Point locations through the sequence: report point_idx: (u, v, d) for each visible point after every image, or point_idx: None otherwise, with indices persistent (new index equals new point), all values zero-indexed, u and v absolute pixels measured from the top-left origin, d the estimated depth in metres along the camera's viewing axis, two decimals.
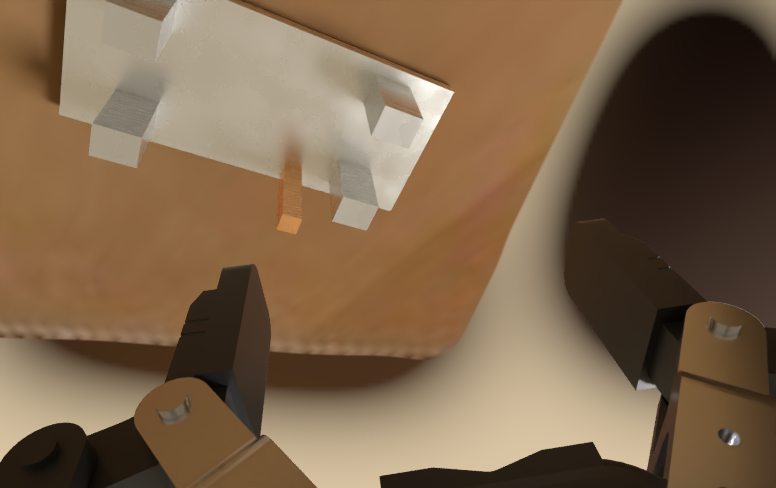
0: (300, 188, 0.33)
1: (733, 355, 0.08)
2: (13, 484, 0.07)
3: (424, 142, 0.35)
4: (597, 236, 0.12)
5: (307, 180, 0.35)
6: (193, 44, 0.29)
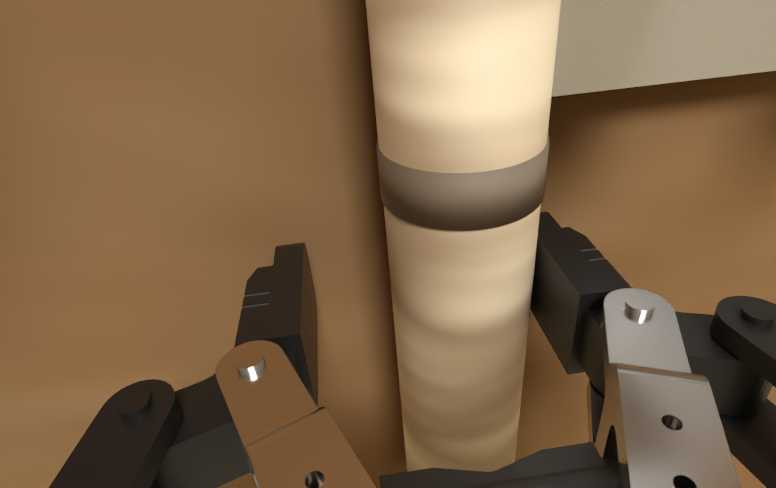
0: None
1: (640, 337, 0.09)
2: (109, 429, 0.08)
3: None
4: None
5: None
6: None
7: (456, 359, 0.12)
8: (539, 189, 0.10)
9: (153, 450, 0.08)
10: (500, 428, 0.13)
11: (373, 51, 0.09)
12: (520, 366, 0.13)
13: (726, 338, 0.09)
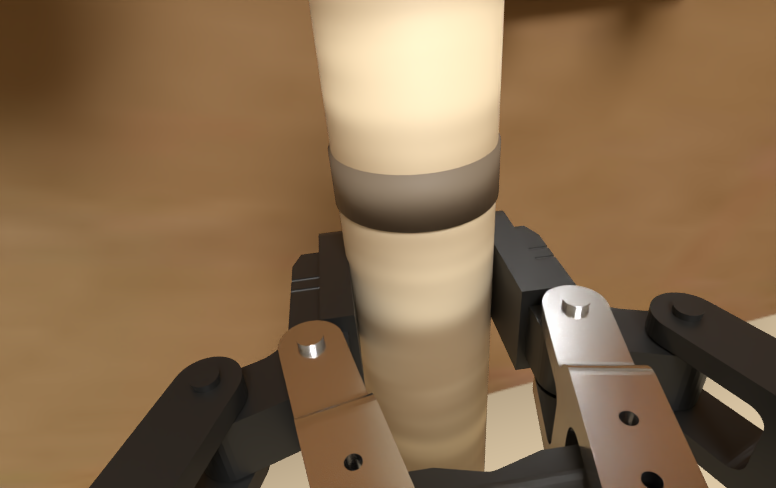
0: None
1: (572, 332, 0.09)
2: (180, 399, 0.08)
3: None
4: None
5: None
6: None
7: (379, 352, 0.12)
8: (457, 207, 0.10)
9: (216, 426, 0.08)
10: (431, 440, 0.13)
11: None
12: (457, 387, 0.12)
13: (663, 337, 0.09)
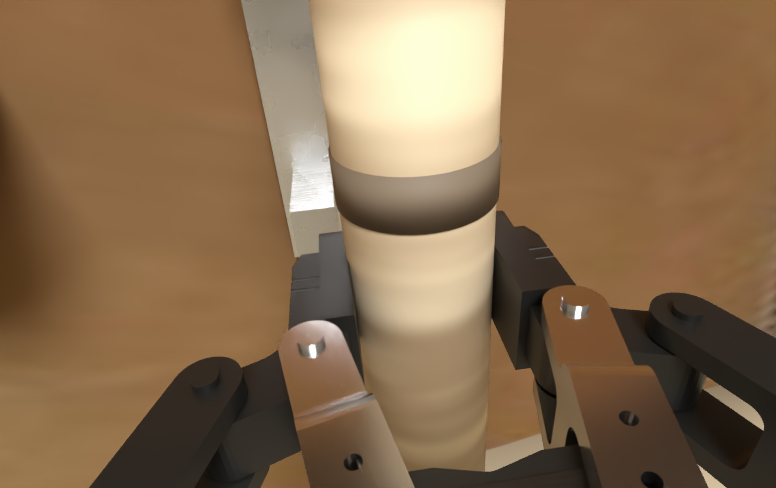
0: None
1: (572, 332, 0.09)
2: (180, 399, 0.08)
3: None
4: None
5: None
6: None
7: (380, 354, 0.12)
8: (458, 209, 0.10)
9: (216, 427, 0.08)
10: (432, 442, 0.13)
11: None
12: (457, 389, 0.12)
13: (663, 337, 0.09)
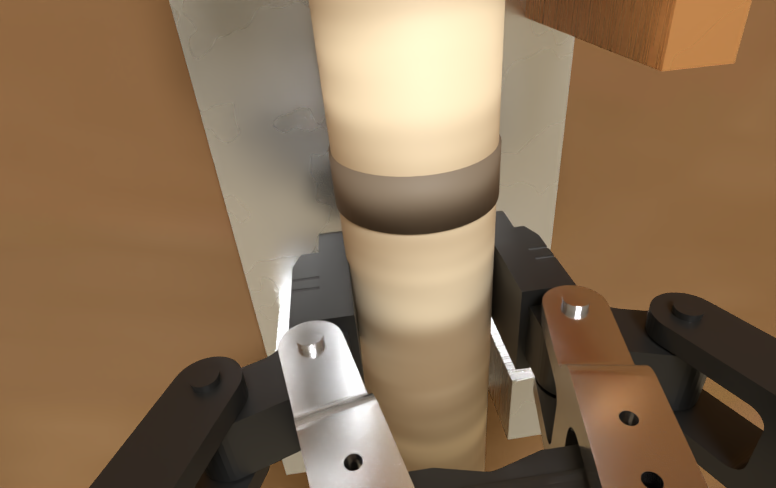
0: None
1: (572, 332, 0.09)
2: (180, 399, 0.08)
3: None
4: None
5: None
6: None
7: (379, 354, 0.12)
8: (458, 208, 0.10)
9: (216, 426, 0.08)
10: (432, 441, 0.13)
11: None
12: (457, 388, 0.12)
13: (663, 337, 0.09)
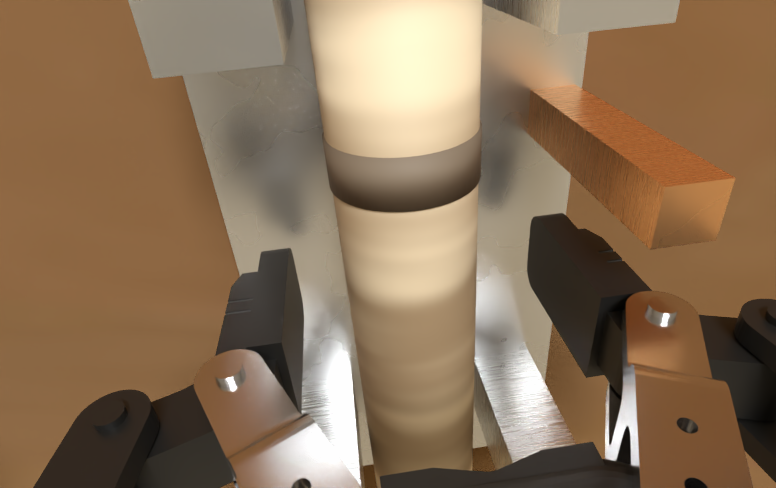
0: (575, 127, 0.11)
1: (665, 340, 0.09)
2: (84, 442, 0.08)
3: None
4: (553, 229, 0.12)
5: (566, 57, 0.13)
6: (354, 350, 0.17)
7: (368, 326, 0.13)
8: (438, 189, 0.10)
9: (131, 461, 0.07)
10: (418, 413, 0.14)
11: None
12: (441, 361, 0.13)
13: (749, 340, 0.09)
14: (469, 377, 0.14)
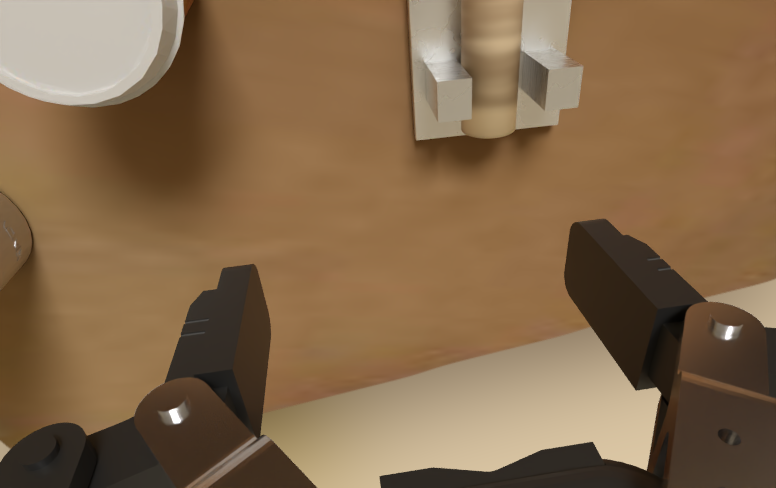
0: None
1: (733, 355, 0.08)
2: (13, 484, 0.07)
3: None
4: (597, 236, 0.12)
5: None
6: (459, 39, 0.32)
7: None
8: None
9: None
10: (488, 38, 0.28)
11: None
12: (502, 1, 0.27)
13: None
14: (517, 26, 0.28)
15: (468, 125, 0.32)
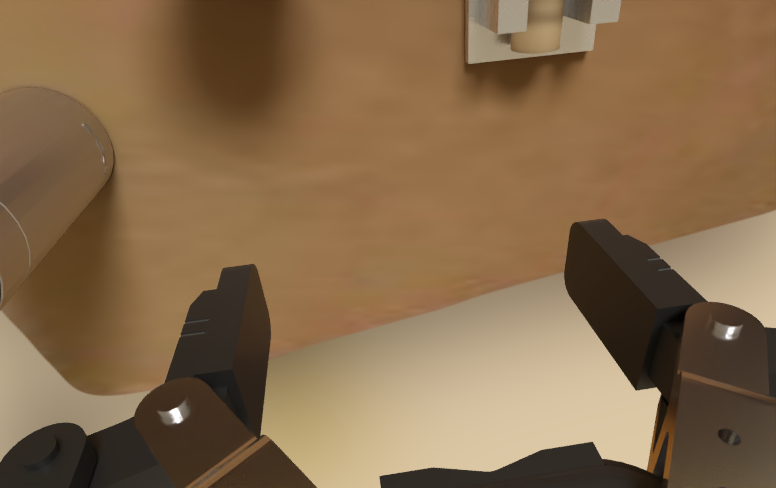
0: None
1: (733, 355, 0.08)
2: (13, 484, 0.07)
3: None
4: (597, 236, 0.12)
5: None
6: None
7: None
8: None
9: None
10: None
11: None
12: None
13: None
14: None
15: (519, 43, 0.36)
